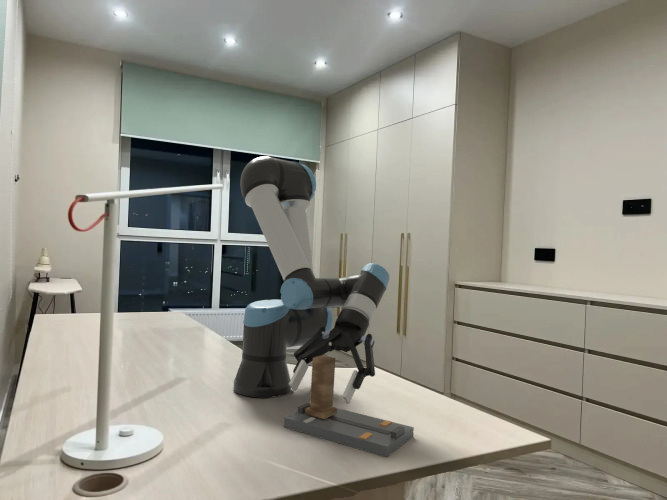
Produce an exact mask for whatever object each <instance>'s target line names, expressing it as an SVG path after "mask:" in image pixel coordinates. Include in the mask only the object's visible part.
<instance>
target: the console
mask: <svg viewBox="0 0 667 500" xmlns="http://www.w3.org/2000/svg"><path fill="white" fill-rule="evenodd" d="M308 407H310V402H307V403H304V404H302V405H299V406H297V412H294V413H292V414H290V415H288V416H285V417H284V423H283V426H284V427H283V428H286V429H290V430H294V431H296V432H300V433H303V434H307V435H310V436H312V437H317V438H320V439H323V440H327V441H330V442H333V443H338V444H341V445H345V446H347V447H351V448H354V449H358V450H361V451H365V452H368V453H371V454H373V455H374V454H375V455H378V456H381V457H384V458H388V457H389V456H390V455H391V454H393V453H394V452H395V451H397V450H398V449H399V448H400V447H401V446H403V445H405V444H406V443H407V442H408V441H410V440H411V439H413V438H414V429H415V427H414V426H410V425H406V424H402V423H399V422H394V421H392V420H391V421H390V420H387V419H383V418H378V417H375V416H370V415H366V414H364V413H359V412H355V411H351V410H346V409H343V408H339V407H336V408H337V413H336V414H334V415H332V416H330V417H328V418H326V419H322V418H318V417H314V416H310V415H307V414H305V408H308Z"/></svg>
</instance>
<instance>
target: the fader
mask: <svg viewBox="0 0 667 500" xmlns="http://www.w3.org/2000/svg"><path fill="white" fill-rule="evenodd" d="M335 370H336V357H331V356H327V355H324V354H323V355H321V356H318V357H314V358H313V361H312V364H311V382H310V384H311V385H310V397H309V398H310V399H309V401H310V402H309V403H310V407H308V408H305V414H307V415H310V416H314V417H318V418H322V419H326V418H328V417H330V416H332V415H334V414H336V413H337V408H338V407H335V406H333V405H334V391H335V390H334V387H335V374H336V373H335V372H336V371H335Z"/></svg>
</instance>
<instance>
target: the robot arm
mask: <svg viewBox="0 0 667 500" xmlns="http://www.w3.org/2000/svg"><path fill="white" fill-rule="evenodd" d="M239 184H240V185H239V187H240V190H241V191H240V192H241V195H242V197H243V200H244V203H245V204H246V206H248V207H249V208H251V209H252V212H253V213H254V214H253V215H254V216H255V218H256V220H257V222H258V226H259V227H260V229H261V232H262V234H263V236H264V238H265V241H266V243H267V246H268V248H269V250H270V253H271V255H272V257H273V259H274V261H275V264H276V266H277V268H278V271H279V273H280V275H281V277H282V280H283V283H282V285H281V287H280V290H279V291H280V294H281V295H280V299H263V300H257V301H254V302H251V303H249V304H247V305H246V307H245V309H244V317H243V321H242V323H243V333H242V335H243V336H242V352H241V355H242V356H241V362H240V364H239V366H238V369H237V372H236V375H235V377H234V379H233V391H234V392H235V393H236V394H238V395H241V396H244V397H250V398H261V399H262V398H263V399H264V398H265V399H267V398H276V397H283V396H286V395H288V394H289V393H291V391H293V392H297V391H298V388H299V387H300V384H302V383H301V382H302V380H303V379H304V377H305V375H306V372H307V371H308V369H309V366H308V364H310V363H311V362H313V358H314V357H318V356H321V355H323V356H324V355H325V354H326V353H328V352H330V353H331V352H333V351H334V350H335V351H338V352H340V351H341V352H344V353H348V352H351V355H352V357H353V358H352V359H353V360H354V363H355V365H356V369H357V370H356V369H354V370H353V371H352V373H351V376H350V377H349V380H348V382H347V385H346V387H345V389H344V391H343V394H342V396H341V397H342V399H343V400H344V402H345V404H347V405H350V403H351V400H352V398H353V397H354V394H355V392H356V390H359V389H360V388H361V386H362V384H363V382H364V379H365V378H366V377H368V376H370V377H372V378H373V377H375V375H376V370H375V369H376V368H375V360H374V359H375V358H374V351H373V350H374V345H375V339H374V337H373V335H372V334H371V333H368V334H366V332H367V331H368V329H369V326H370V323H371V322H372V320H373V318H374V315H375V313H376V311H377V308H378V306H379V304H380V302H381V301H382V298H383V296H384V294H385V292H386V291H387V289H388V288H387V287H388V284H389V282H390V274H389V271H388V270H387V269H386V268H385V267H383V265H380V264H378V263H373V262H372V263H371V262H370V263H366V264H365V265H364V266H363V268H362V269H361V270H360V273H358V274H353V275H349V276H343V277H328V278H327V277H325V278H324V277H323V278H322V277H316V276H315V274H314V267H313V260H312V251H311V250H312V249H311V243H310V242H311V241H310V235H309V234H310V233H309V225H308V217H307V209H309V207H310V206H311V200H312V199H313V198H314V196H315V192H316V190H317V180H316V177H315V174H314V173H313V171H312V169H311V168H310V167H308V166H307V165H305V164H302V163H301V162H297V161H294V160H293V161H290V160H286V159H280V158H276V157H272V156H265V155H264V156H259V157H256V158H253V159H252V160H250V161H249V162H248V163H247V164H246V165H245V166H244V168H243V170H242V172H241V176H240V183H239ZM341 307H342V308H341ZM335 308H336V309H339V308H341V310H340V312H339V314H338V316H337V318H336V320H335V323H334V327H333V328H332V326H333V322H334V321H333V314H332V311H331V309H335ZM362 343H363V345H364V353H365V365H366V366H364V365H363V362H362V360H361V359H362V358H361V357H360V354H359V351H358V348H357V347H358V346H359V345H361V344H362ZM292 347H299V348H298V349H297V350H295V351H294V353H293V356H294V358H295V359H296V364H295V366H294V368H293V369H292V373H293V375H292V377H290V372H289V368H288V364H287V351H288V348H292Z"/></svg>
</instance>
